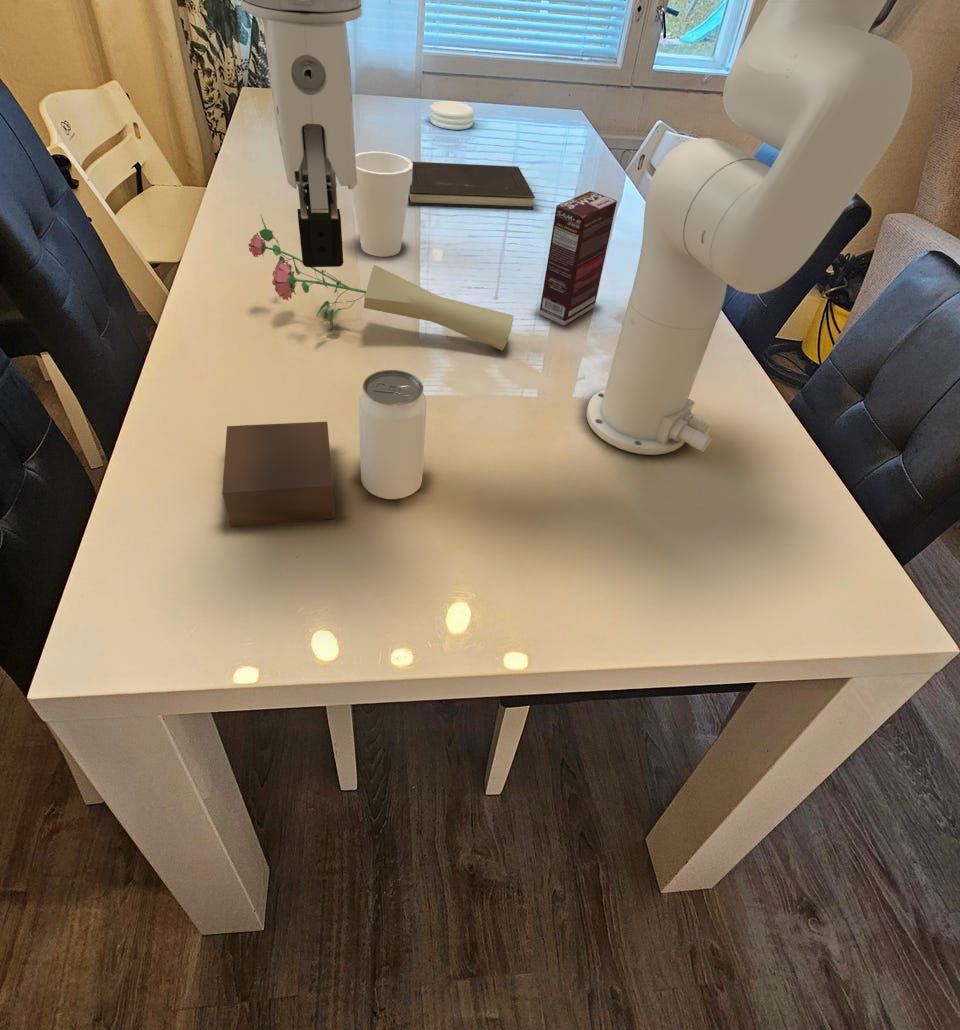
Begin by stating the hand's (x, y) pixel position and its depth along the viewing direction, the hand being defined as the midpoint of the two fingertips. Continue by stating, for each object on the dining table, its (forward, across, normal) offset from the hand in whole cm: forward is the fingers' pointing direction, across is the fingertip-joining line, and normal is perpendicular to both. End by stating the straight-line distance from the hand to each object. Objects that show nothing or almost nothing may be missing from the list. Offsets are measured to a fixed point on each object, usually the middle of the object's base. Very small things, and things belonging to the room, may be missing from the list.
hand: (322, 261), depth 57 cm
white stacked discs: (+25, +120, -33) cm, 127 cm away
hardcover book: (+25, +80, -29) cm, 88 cm away
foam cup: (+24, +55, -10) cm, 61 cm away
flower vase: (+24, +29, -7) cm, 39 cm away
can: (+24, -1, -5) cm, 25 cm away
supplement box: (+25, +34, -35) cm, 55 cm away
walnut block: (+24, -1, +6) cm, 25 cm away
